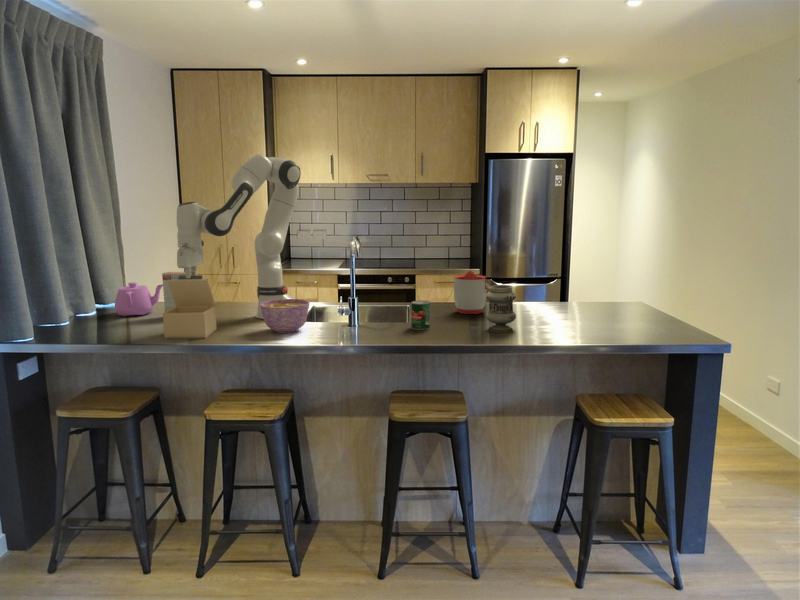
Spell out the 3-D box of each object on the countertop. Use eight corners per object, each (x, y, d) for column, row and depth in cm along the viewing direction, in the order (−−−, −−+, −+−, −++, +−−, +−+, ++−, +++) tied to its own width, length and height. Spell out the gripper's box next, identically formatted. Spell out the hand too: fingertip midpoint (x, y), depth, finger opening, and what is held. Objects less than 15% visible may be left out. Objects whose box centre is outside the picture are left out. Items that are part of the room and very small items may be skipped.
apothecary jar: (485, 326, 245) (486, 283, 242) (515, 326, 243) (516, 284, 240) (485, 332, 233) (486, 288, 230) (516, 333, 231) (517, 288, 228)
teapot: (109, 320, 262) (106, 287, 259) (120, 311, 282) (117, 280, 280) (163, 317, 267) (161, 285, 265) (170, 309, 287) (168, 279, 285)
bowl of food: (267, 325, 248) (266, 299, 246) (314, 325, 248) (313, 298, 246) (255, 336, 229) (254, 307, 227) (306, 336, 228) (305, 307, 226)
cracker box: (200, 316, 270) (197, 271, 266) (194, 318, 264) (191, 273, 260) (171, 315, 271) (168, 271, 268) (165, 318, 265) (161, 272, 262)
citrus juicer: (489, 316, 265) (490, 272, 262) (451, 315, 268) (452, 272, 265) (490, 309, 281) (491, 268, 277) (454, 308, 284) (455, 268, 280)
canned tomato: (410, 329, 239) (410, 303, 237) (412, 325, 247) (412, 300, 245) (429, 330, 238) (429, 303, 236) (431, 326, 245) (431, 300, 244)
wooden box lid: (215, 306, 238) (217, 298, 242) (207, 280, 229) (210, 273, 232) (176, 306, 238) (179, 298, 242) (166, 280, 229) (170, 273, 232)
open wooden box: (216, 330, 240) (215, 306, 238) (205, 338, 226) (204, 313, 225) (177, 330, 240) (176, 306, 238) (164, 338, 226) (162, 313, 224)
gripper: (188, 244, 221) (190, 280, 223) (205, 241, 242) (206, 274, 244) (171, 244, 221) (173, 280, 223) (190, 241, 241) (191, 274, 244)
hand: (191, 277), depth 234 cm, fingers open, 3 cm apart
